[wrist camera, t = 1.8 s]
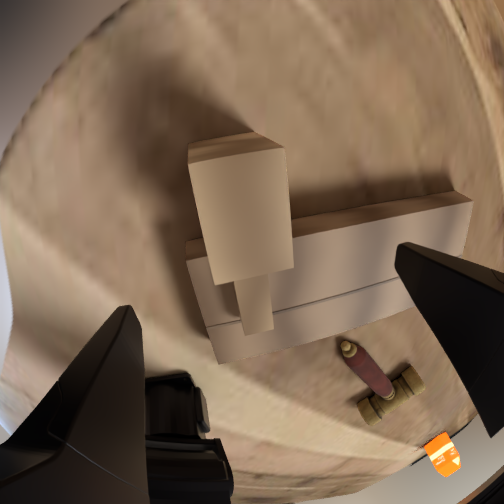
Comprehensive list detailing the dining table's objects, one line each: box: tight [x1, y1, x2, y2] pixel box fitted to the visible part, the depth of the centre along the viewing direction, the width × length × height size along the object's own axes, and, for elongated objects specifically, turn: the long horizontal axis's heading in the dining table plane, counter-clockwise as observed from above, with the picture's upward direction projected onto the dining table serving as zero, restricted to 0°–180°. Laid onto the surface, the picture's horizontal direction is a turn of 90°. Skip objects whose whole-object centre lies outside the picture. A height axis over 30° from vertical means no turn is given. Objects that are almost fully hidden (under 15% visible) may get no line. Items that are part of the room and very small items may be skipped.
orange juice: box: [424, 432, 461, 477], centre depth 77 cm, size 8×9×20 cm
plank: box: [186, 191, 474, 364], centre depth 22 cm, size 24×10×3 cm, turn 97°
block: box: [188, 132, 294, 336], centre depth 17 cm, size 4×12×6 cm, turn 7°
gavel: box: [341, 341, 426, 426], centre depth 32 cm, size 21×5×10 cm
